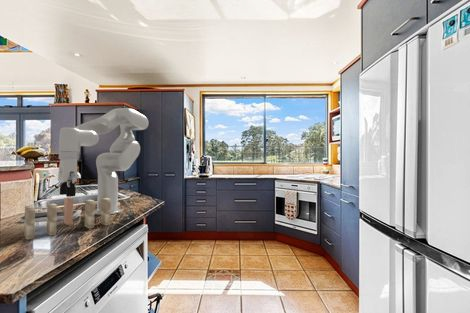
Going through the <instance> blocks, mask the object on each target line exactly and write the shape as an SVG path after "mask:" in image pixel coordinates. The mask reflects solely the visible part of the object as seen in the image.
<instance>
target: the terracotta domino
mask: <svg viewBox="0 0 470 313" xmlns="http://www.w3.org/2000/svg"><path fill="white" fill-rule="evenodd" d="M63 201H64V202H63V211H64V220H63V224H64V225H66V226H69V225H73V224H74V222H73V220H74V219H73V210H74V198H73V197H64V199H63Z"/></svg>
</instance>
